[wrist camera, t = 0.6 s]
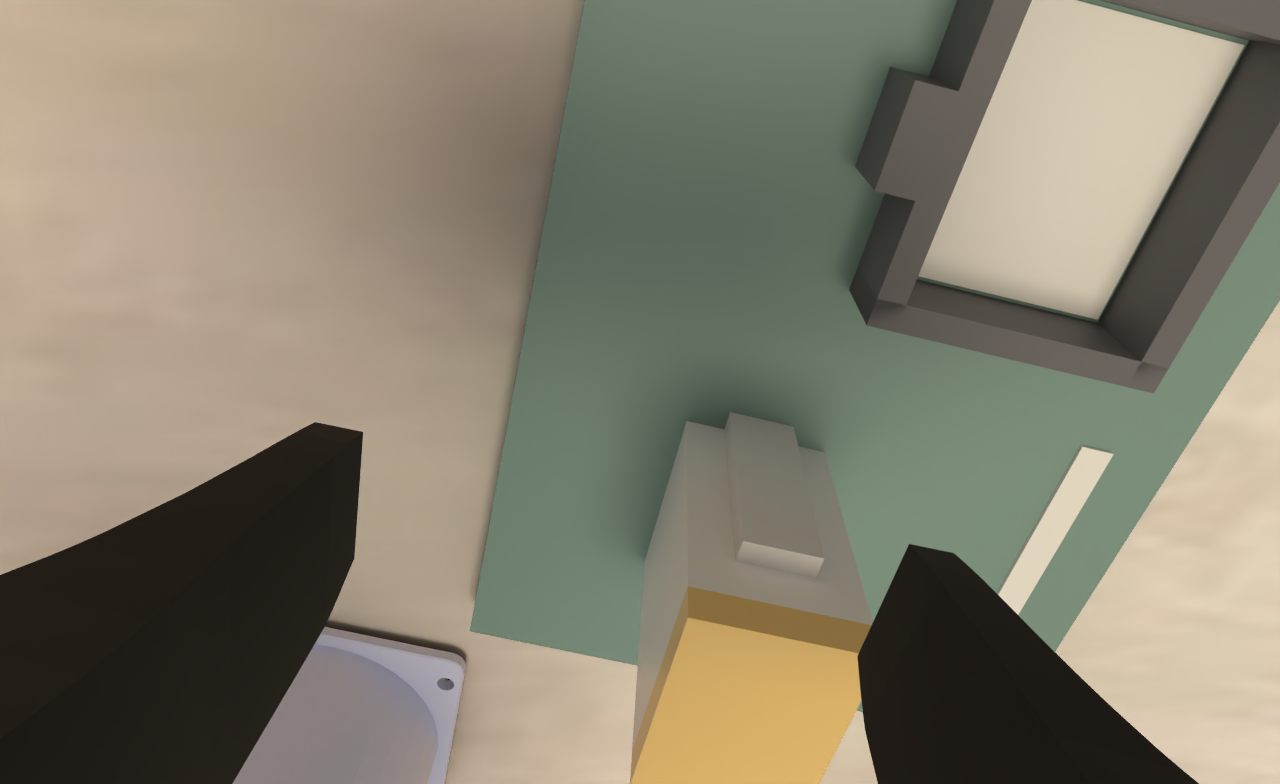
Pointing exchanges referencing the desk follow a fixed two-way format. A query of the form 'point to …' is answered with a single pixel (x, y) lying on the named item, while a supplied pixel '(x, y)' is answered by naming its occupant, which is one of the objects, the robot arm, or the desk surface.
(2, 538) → the desk surface
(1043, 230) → the board
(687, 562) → the plug
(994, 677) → the robot arm
